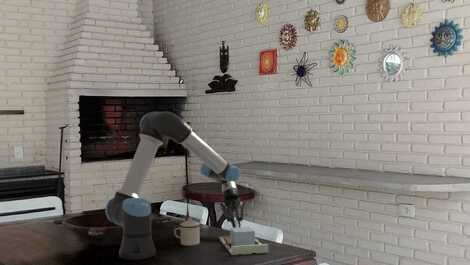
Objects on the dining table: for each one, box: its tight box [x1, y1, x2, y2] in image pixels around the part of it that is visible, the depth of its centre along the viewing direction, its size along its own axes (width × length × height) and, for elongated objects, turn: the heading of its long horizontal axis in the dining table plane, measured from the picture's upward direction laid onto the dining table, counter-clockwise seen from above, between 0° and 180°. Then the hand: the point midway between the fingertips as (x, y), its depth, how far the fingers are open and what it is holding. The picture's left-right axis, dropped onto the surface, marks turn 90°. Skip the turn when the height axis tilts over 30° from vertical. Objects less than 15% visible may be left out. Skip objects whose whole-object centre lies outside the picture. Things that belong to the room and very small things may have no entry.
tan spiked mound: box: [184, 203, 203, 227], centre depth 269 cm, size 15×10×13 cm
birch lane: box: [218, 235, 262, 255], centre depth 228 cm, size 28×16×1 cm, turn 13°
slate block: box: [229, 226, 256, 246], centre depth 227 cm, size 9×9×8 cm
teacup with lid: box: [173, 217, 201, 247], centre depth 232 cm, size 12×9×12 cm
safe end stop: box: [230, 243, 269, 256], centre depth 214 cm, size 1×16×4 cm, turn 103°
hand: (238, 233), depth 237 cm, fingers closed
